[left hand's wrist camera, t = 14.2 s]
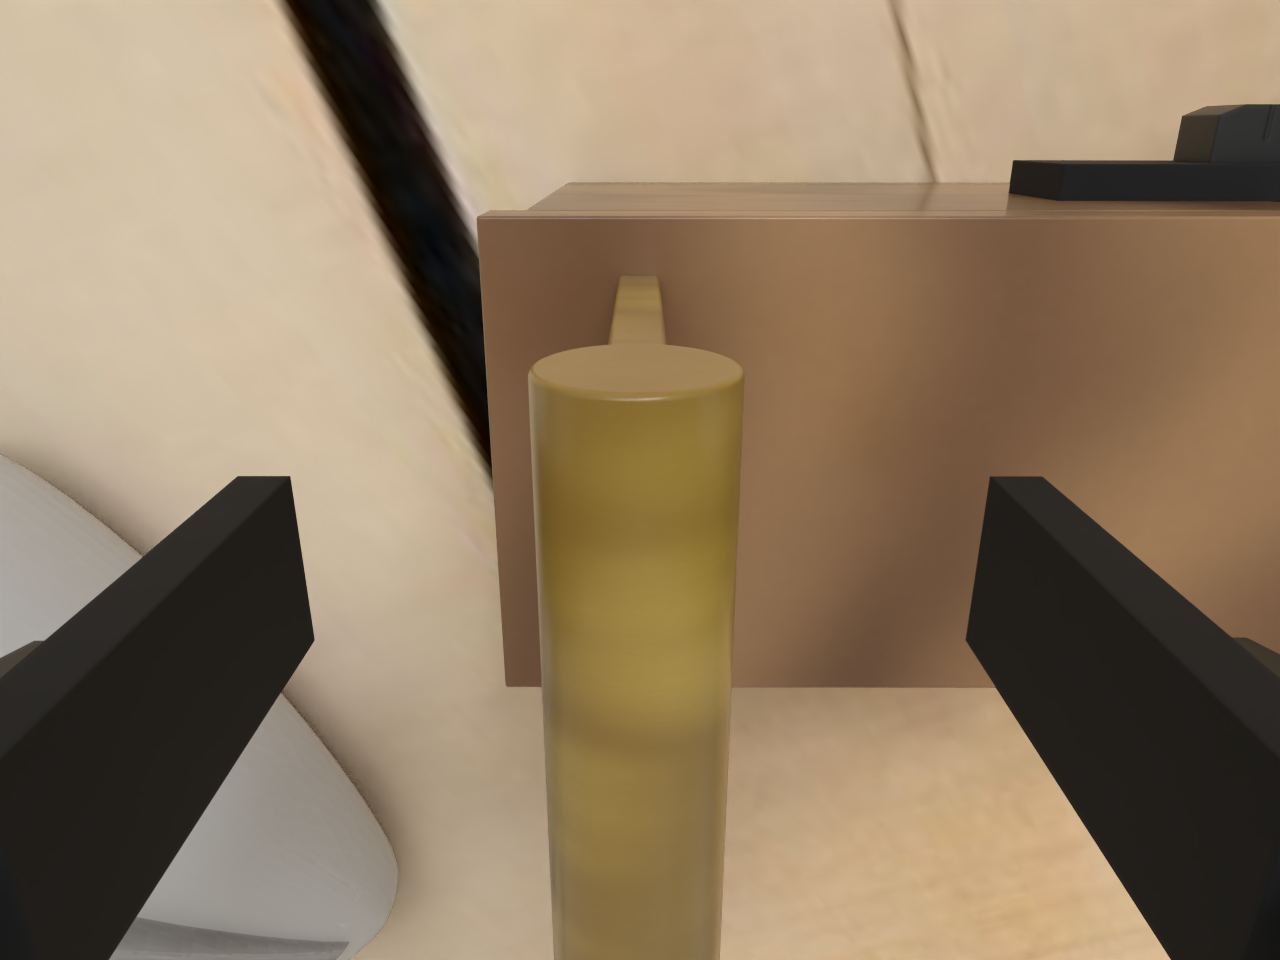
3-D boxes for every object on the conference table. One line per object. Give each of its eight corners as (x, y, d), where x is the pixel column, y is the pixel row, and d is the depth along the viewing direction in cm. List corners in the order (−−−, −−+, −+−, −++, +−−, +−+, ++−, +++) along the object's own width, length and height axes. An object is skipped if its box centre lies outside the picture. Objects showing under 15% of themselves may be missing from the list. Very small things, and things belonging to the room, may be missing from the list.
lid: (513, 654, 20) (408, 1076, 11) (487, 210, 16) (306, 298, 8) (1240, 655, 20) (1729, 1080, 11) (1364, 210, 16) (2215, 300, 8)
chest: (575, 484, 29) (543, 654, 20) (567, 182, 26) (524, 210, 16) (1044, 485, 29) (1239, 654, 20) (1096, 182, 26) (1362, 211, 16)
